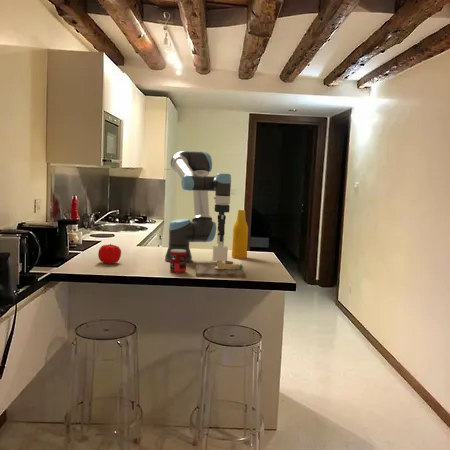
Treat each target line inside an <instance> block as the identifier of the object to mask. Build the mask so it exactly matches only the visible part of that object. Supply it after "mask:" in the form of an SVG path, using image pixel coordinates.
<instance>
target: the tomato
mask: <svg viewBox="0 0 450 450" xmlns="http://www.w3.org/2000/svg"><path fill="white" fill-rule="evenodd" d="M97 255H98V260H99V261H100V262H101V263H103V264H111V265H112V264H116V263H118V262H119V260H120V258H121V256H122V249H121V248H120V247H119V246H117V245H115V244H111V243H110V244H103V245H101V247H100V248H99V249H98V253H97Z"/></svg>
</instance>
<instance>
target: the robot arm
mask: <svg viewBox="0 0 450 450" xmlns="http://www.w3.org/2000/svg"><path fill="white" fill-rule="evenodd" d="M170 166H171V168H172V170H173V171H174V172H176V173H177V174H178V176H179V177H180V178H181V185H180V186H181V188H182V190H183V191H189V192H190V191H192V193H193V194H192V195H193V197H192V198H193V208H194V209H193V214H194V217H193V218H192V219H190V218H181V219H180V218H179V219H174V220H171V221H170V222H169V226H168V227H169V228H168V247H167V251H166V253H165V257H164V258H165V259H164V261H166V262H169V263H170V253H171V250H172V249H183V250H186V252H187V253H186V263H190V262H192V261H193V255H192V253H191V249H190V243H209V242H212V241H214V239H215V236H216V234H217V238H216V239H217V240H216V244H218V245H217V246H218V248H224V246H225V231H226V230H225V229H226V227H225V224H226V220H227V219H226V218H227V217H226V215H225V213H230V210H231V209H230V204H231V187H232V175H231V174H230V173H221V172H218V173H216V175H215V176H214V175H213V176H211V175H210V173H211V171H212V169H213V159H212V157H211V155H210V154H209V153H208V152H205V151H204V152H203V151H192V150H191V151H190V150H189V151H188V150H181V151H178V152H176V153H175V154H174V155H173V156H172V157H171V160H170ZM209 175H210V176H209ZM209 192H215V196H214V197H213V200H214V203H215V204H214V212H216V213H218V214H217V222H215V221H213V217H212V216H210V207H209V206H210V205H209V204H210V203H209Z"/></svg>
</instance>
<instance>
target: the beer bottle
mask: <svg viewBox="0 0 450 450" xmlns="http://www.w3.org/2000/svg"><path fill="white" fill-rule="evenodd" d="M246 220H247V219H246V210H245V209H237V215H236V219H235V221H234V223H233V227H232V241H231V242H232V244H231V245H232V246H231V257H232V259H237V260H243V259H244V260H245V259H247V257H248V239H249V226H248V222H247V221H246Z"/></svg>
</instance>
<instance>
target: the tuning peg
mask: <svg viewBox="0 0 450 450" xmlns="http://www.w3.org/2000/svg"><path fill="white" fill-rule="evenodd" d="M228 251H229V250H228V246H226V245H224V248H218V245H217V246H216V245H214V246H212V261H214V262H217V263H216V264H217V266H216V267H214V268H215V269H228V268H236V269H239V265H240V264H234V263H233V264H225V263H224V264H223V262H225V261H228V253H229V252H228Z"/></svg>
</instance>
